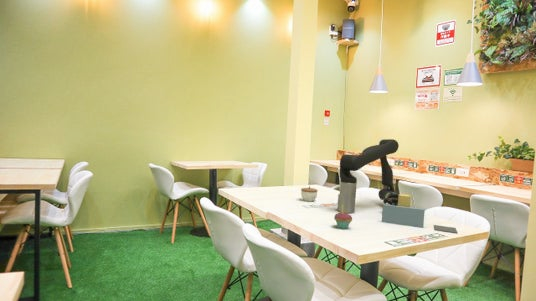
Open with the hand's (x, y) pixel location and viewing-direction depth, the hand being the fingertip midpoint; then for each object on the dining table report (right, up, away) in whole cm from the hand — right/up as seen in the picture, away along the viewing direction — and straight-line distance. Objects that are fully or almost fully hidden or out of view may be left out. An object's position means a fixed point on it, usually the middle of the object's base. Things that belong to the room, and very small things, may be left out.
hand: (399, 203), depth 197 cm
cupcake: (-38, -7, -29) cm, 49 cm away
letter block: (-2, -8, -9) cm, 12 cm away
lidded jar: (-47, -4, +35) cm, 59 cm away
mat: (+14, -9, -22) cm, 28 cm away
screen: (-5, -8, -16) cm, 19 cm away
